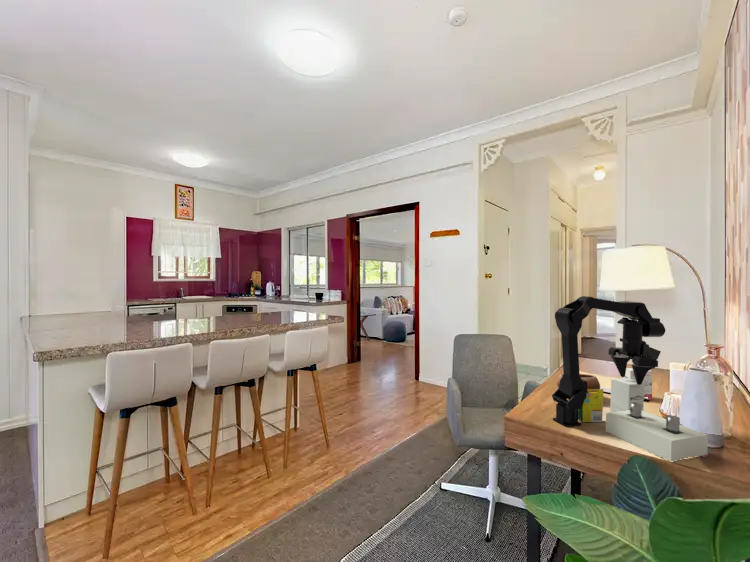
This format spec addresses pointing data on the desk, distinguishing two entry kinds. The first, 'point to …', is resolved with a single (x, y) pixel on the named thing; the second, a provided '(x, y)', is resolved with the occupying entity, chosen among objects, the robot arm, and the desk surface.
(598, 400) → the crayon box
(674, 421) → the peg far side
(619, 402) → the supplement box
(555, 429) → the desk surface
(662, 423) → the block
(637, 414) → the peg near arm
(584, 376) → the bowl
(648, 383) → the ink box
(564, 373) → the robot arm
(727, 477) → the desk surface
